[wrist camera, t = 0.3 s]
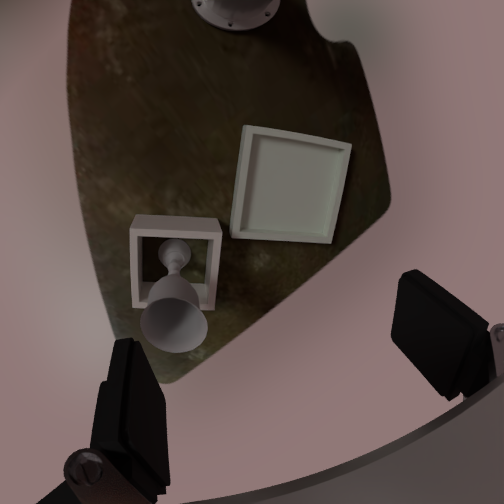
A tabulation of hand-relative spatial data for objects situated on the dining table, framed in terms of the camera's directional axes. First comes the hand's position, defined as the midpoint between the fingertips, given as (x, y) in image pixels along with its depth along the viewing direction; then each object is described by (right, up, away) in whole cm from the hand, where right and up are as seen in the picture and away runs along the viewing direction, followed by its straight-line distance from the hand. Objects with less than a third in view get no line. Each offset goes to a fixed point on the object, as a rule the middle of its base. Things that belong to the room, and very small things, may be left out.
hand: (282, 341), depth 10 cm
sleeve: (-13, +3, +36) cm, 38 cm away
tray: (+4, +13, +35) cm, 38 cm away
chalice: (-13, +3, +36) cm, 39 cm away
